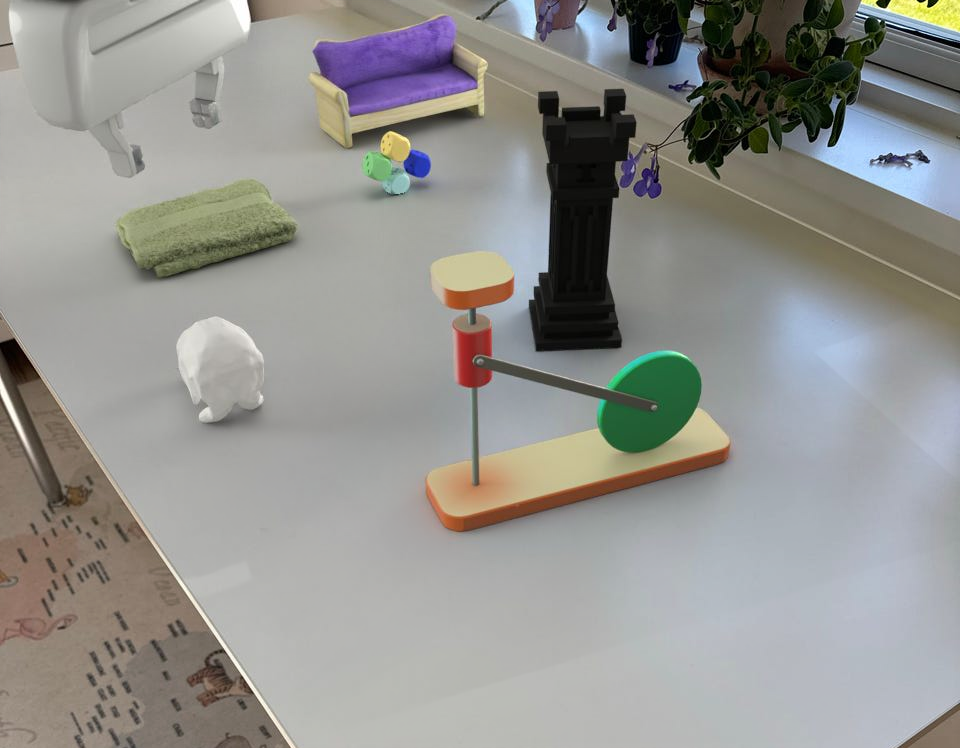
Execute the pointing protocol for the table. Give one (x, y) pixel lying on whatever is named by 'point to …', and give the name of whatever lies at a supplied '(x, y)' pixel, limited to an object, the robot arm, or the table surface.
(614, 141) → the chess piece
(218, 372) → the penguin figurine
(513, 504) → the crank mechanism
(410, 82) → the toy sofa
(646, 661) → the table surface
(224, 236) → the washcloth
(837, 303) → the table surface
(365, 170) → the dice
